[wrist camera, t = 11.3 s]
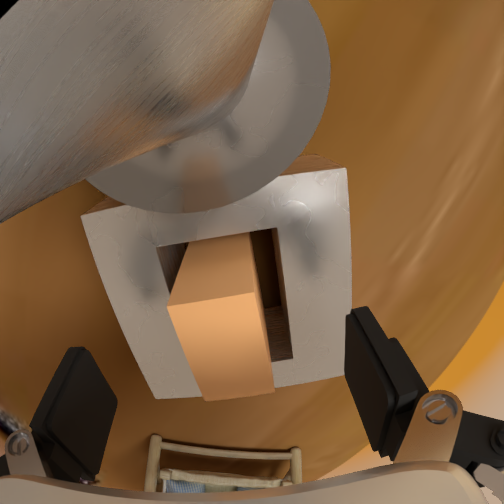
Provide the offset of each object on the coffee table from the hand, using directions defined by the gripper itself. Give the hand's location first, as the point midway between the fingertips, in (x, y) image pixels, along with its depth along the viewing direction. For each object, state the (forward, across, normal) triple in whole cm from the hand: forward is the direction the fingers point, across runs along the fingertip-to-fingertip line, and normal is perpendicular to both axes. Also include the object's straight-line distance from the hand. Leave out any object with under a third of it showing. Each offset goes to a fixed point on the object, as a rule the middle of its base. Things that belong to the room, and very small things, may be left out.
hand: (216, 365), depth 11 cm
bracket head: (+9, 0, -4) cm, 10 cm away
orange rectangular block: (+9, 0, 0) cm, 9 cm away
